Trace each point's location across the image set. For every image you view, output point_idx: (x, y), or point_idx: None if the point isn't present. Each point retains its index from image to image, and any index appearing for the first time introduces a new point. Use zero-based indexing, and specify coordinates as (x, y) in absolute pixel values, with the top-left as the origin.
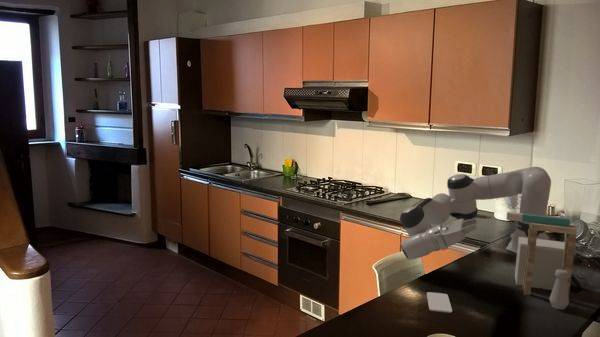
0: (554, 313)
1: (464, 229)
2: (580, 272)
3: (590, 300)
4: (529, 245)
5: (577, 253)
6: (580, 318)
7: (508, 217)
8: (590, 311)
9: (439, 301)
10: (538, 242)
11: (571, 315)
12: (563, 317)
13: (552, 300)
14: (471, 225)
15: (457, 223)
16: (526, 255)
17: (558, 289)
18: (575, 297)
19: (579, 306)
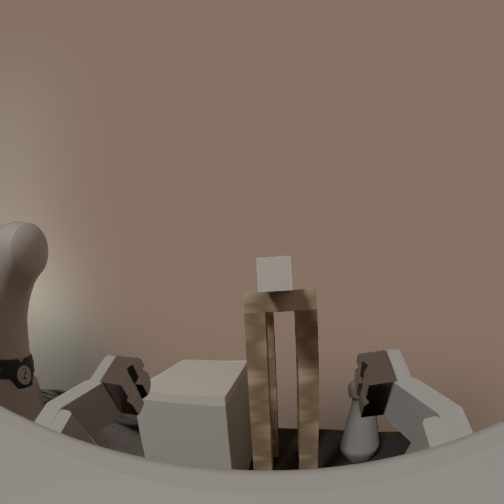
0: (399, 455)
1: (463, 424)
2: (135, 416)
3: (284, 431)
4: (316, 368)
5: (55, 391)
6: (389, 434)
7: (291, 277)
8: (343, 431)
9: None
10: (195, 377)
11: (386, 442)
12: (407, 445)
13: (374, 448)
14: (405, 366)
15: (73, 497)
16: (262, 418)
17: (375, 419)
18: (279, 442)
19: (328, 439)
